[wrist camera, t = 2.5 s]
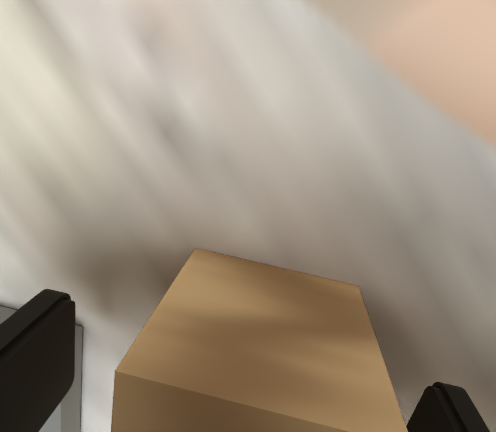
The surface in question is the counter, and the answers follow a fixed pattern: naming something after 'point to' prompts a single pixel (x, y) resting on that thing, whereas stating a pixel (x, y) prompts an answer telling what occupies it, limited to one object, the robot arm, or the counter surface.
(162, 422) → the oak block
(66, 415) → the build board
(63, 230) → the counter surface
